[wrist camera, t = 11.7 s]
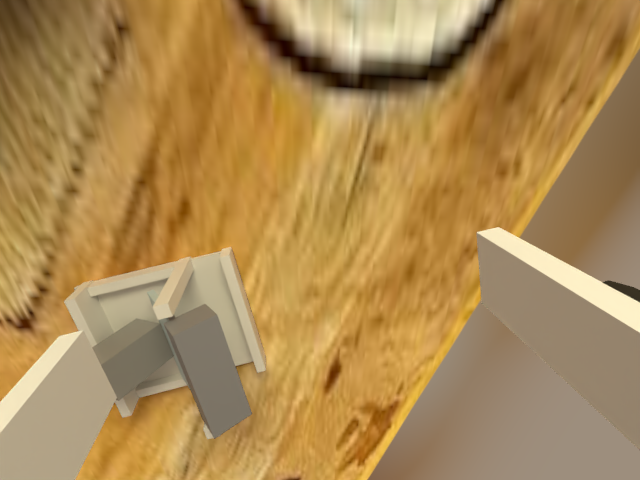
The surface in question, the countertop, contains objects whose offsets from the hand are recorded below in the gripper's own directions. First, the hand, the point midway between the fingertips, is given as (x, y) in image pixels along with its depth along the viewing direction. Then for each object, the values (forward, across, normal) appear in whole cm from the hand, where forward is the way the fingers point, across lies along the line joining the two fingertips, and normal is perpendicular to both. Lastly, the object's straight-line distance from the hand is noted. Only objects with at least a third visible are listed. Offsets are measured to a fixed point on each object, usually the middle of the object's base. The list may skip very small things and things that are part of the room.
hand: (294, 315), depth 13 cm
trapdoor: (+26, -14, -18) cm, 34 cm away
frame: (+37, -14, -18) cm, 43 cm away
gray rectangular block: (+35, -20, -18) cm, 44 cm away
